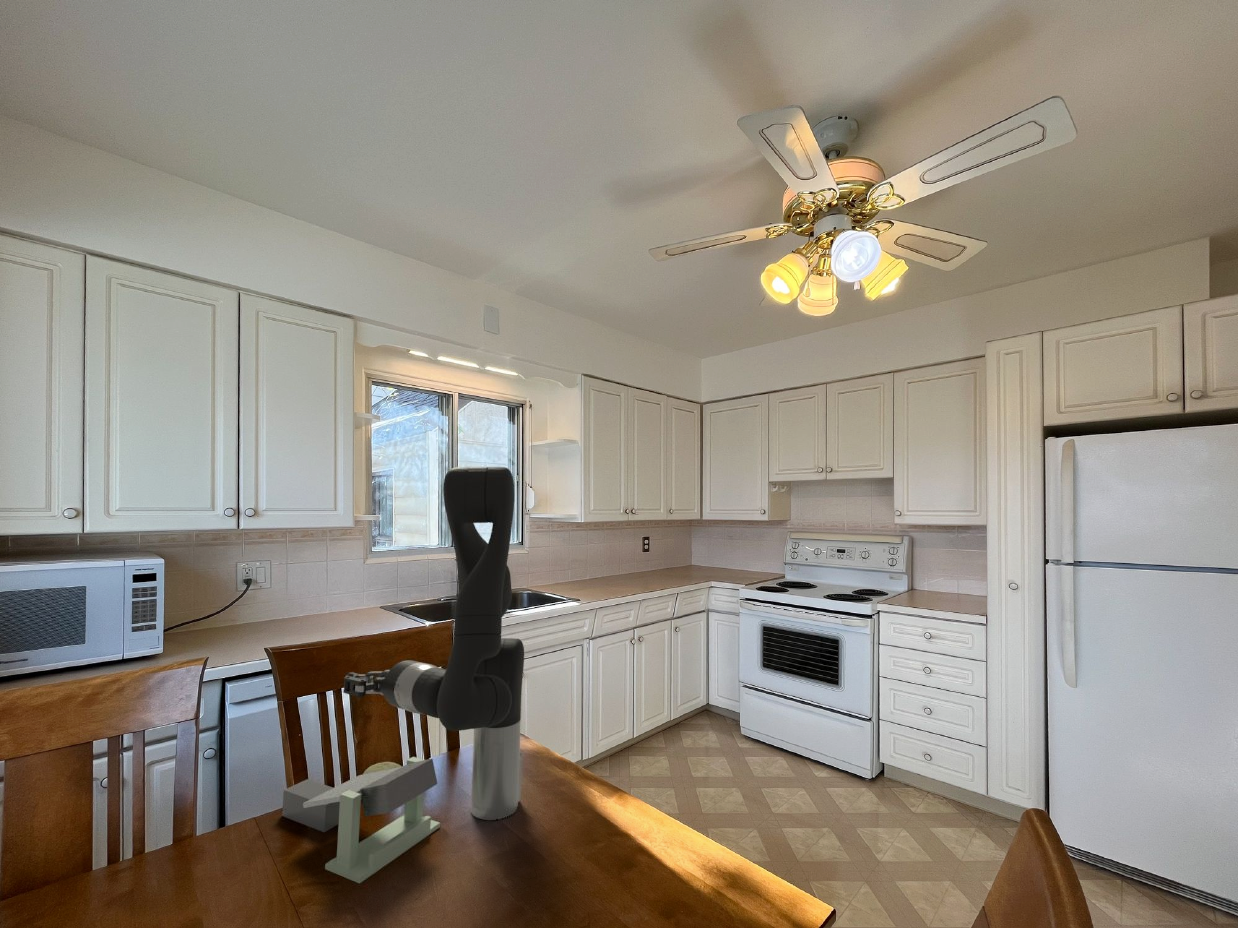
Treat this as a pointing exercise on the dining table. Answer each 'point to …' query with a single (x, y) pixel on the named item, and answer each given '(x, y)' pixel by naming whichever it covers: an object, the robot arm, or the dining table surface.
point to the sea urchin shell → (381, 767)
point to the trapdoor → (384, 788)
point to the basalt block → (310, 816)
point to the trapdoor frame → (376, 837)
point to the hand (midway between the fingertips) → (372, 674)
